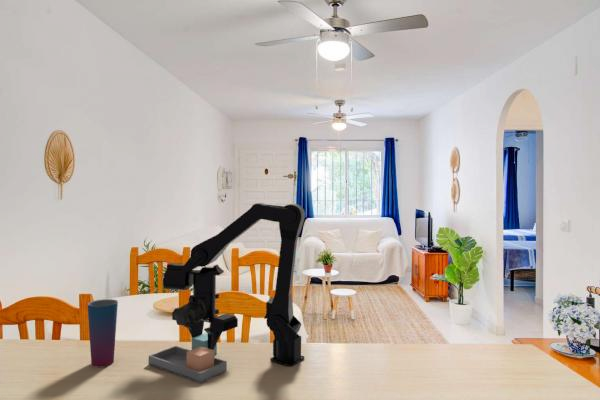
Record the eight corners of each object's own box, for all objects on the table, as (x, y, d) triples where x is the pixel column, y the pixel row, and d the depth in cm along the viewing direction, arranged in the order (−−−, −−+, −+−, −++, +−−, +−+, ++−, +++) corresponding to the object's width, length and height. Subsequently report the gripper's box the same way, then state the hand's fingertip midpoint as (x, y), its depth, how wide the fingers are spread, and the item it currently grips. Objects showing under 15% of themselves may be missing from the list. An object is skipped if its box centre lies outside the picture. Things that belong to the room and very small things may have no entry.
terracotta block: (214, 369, 104) (214, 350, 104) (200, 375, 101) (200, 356, 101) (200, 364, 107) (200, 346, 107) (186, 370, 103) (186, 351, 103)
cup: (122, 358, 112) (123, 299, 111) (108, 369, 105) (108, 306, 104) (97, 357, 112) (97, 298, 112) (81, 367, 105) (81, 305, 105)
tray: (226, 370, 105) (226, 361, 105) (200, 383, 98) (200, 373, 98) (175, 354, 115) (175, 345, 115) (148, 364, 108) (148, 355, 108)
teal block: (216, 353, 116) (216, 336, 116) (204, 358, 112) (204, 341, 112) (204, 350, 118) (204, 333, 118) (191, 355, 114) (191, 337, 114)
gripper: (155, 291, 113) (155, 352, 113) (207, 302, 103) (207, 369, 103) (188, 284, 122) (188, 340, 123) (239, 293, 112) (238, 354, 112)
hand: (204, 350), depth 115 cm, fingers closed on teal block, 4 cm apart
